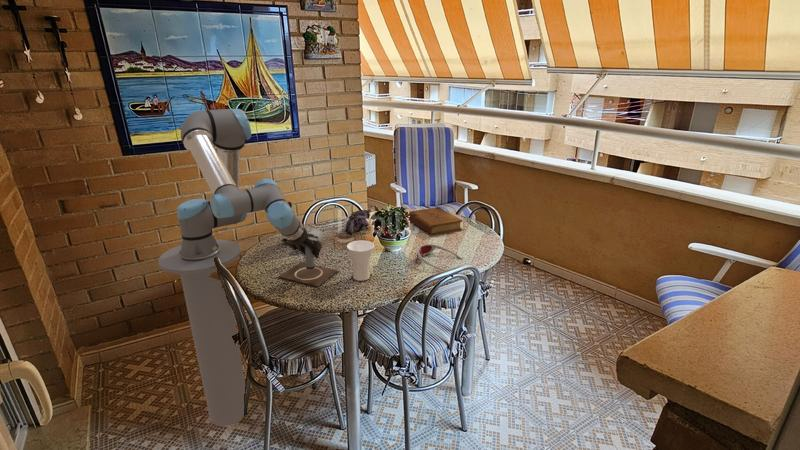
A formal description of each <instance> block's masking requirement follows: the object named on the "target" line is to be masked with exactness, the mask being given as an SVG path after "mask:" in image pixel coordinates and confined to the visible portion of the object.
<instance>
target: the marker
mask: <svg viewBox="0 0 800 450" xmlns="http://www.w3.org/2000/svg"><path fill="white" fill-rule="evenodd" d="M304 256H305V263H306V268H307V269H313V268H315V266H316V265H315V256H314V255H313V254H312V250H310V249H309V248H308V247H307V246H305V255H304Z"/></svg>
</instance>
